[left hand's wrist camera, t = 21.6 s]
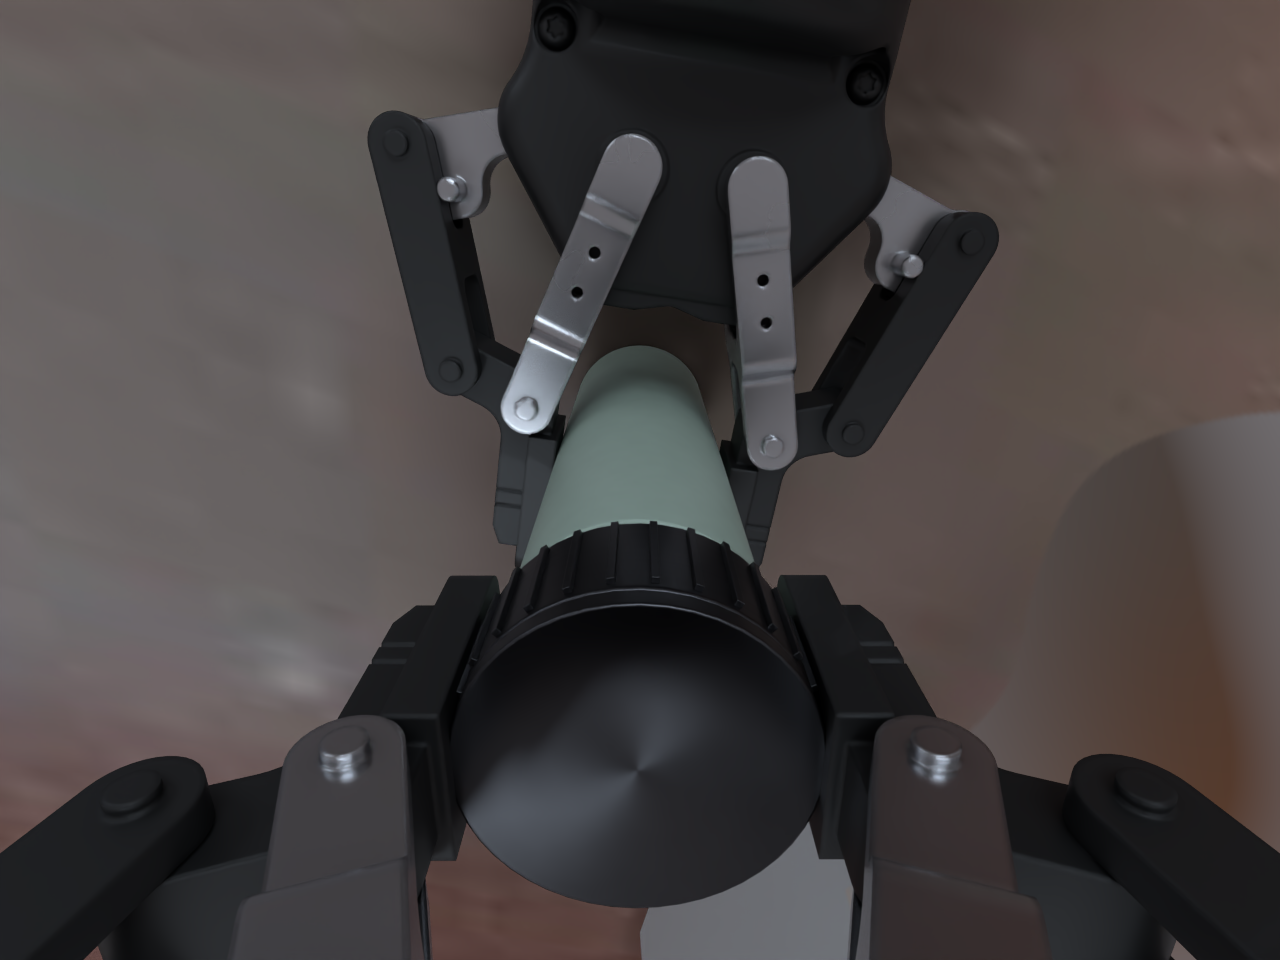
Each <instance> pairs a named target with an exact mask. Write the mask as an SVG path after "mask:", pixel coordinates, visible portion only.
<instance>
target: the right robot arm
mask: <svg viewBox="0 0 1280 960" xmlns="http://www.w3.org/2000/svg"><path fill="white" fill-rule="evenodd" d="M910 1H911V0H533V8H532V19H531V27H530V34H529V39H528V43H527V46H526V49H525V52H524V55H523V58H522V60H521V62H520V64H519V66H518V68H517V70H516V71H515V73H514V75H513V76H512V78H511V79H510V81H509V82H508V83H507V85H506V87H505V88H504V91H503V93H502V95H501V98H500V102H499V106H498V107H497V108H491V109H485V110H478V111H472V112H466V113H460V114H453V115H447V116H441V117H435V118H428V119H420V118H418V117H415V116H412V115H409V114H406V113H404V112H400V111H387V112H384V113H382V114H380V115H379V116H377V117H376V118H375V119H374V121H373V122H372V124H371V126H370V128H369V131H368V147H369V151H370V155H371V159H372V163H373V167H374V171H375V175H376V179H377V183H378V187H379V191H380V195H381V199H382V203H383V207H384V211H385V215H386V219H387V223H388V227H389V231H390V235H391V239H392V243H393V247H394V251H395V255H396V259H397V263H398V267H399V270H400V274H401V278H402V282H403V286H404V290H405V294H406V298H407V302H408V306H409V310H410V314H411V318H412V322H413V326H414V330H415V334H416V338H417V342H418V346H419V350H420V354H421V358H422V362H423V366H424V370H425V374H426V377H427V379H428V381H429V383H430V384H431V385H432V387H433V388H435V389H436V390H437V391H439V392H440V393H442V394H445V395H449V396H458V395H462V396H464V397H466V398H468V399H469V400H471V401H473V402H475V403H477V404H479V405H481V406H483V407H484V408H486V409H487V410H489V411H490V412H491V413H492V414H493V415H494V417H495V418H496V420H497V422H498V424H499V427H500V431H501V442H500V453H499V464H498V474H497V485H496V487H497V488H496V496H495V506H494V517H493V527H494V530H495V533H496V536H497V539H498V542H499V543H501V544H508V545H515V546H517V547H516V556H515V567H517V566H518V567H521V564H522V561H523V558H524V555H525V552H526V549H527V546H528V543H529V540H530V536H531V533H532V530H533V527H534V524H535V521H536V518H537V515H538V512H539V509H540V506H541V503H542V500H543V497H544V494H545V491H546V488H547V485H548V482H549V479H550V476H551V473H552V470H553V467H554V464H555V461H556V458H557V455H558V452H559V449H560V446H561V443H562V440H563V434H564V426H565V418H566V416H565V415H558V410H559V402H560V398H561V396H562V393H563V391H564V389H565V387H566V385H567V382H568V380H569V378H570V376H571V374H572V371H573V369H574V367H575V365H576V363H577V360H578V358H579V356H580V354H581V352H582V350H583V348H584V346H585V343H586V341H587V339H588V337H589V335H590V332H591V330H592V328H593V326H594V324H595V321H596V319H597V317H598V315H599V313H600V310H601V308H602V306H603V305H608V306H615V307H621V308H627V309H633V310H636V309H645V308H654V307H664V306H672V307H675V308H677V309H679V310H681V311H683V312H686V313H688V314H690V315H692V316H694V317H697V318H699V319H701V320H703V321H708V322H715V323H721V324H724V328H725V339H726V346H727V352H728V357H729V363H730V373H731V384H732V394H733V405H734V416H735V424H734V429H733V434H732V439H731V441H726V440H722V441H721V446H720V451H719V452H720V456H721V459H722V462H723V465H724V468H725V471H726V474H727V478H728V481H729V484H730V487H731V490H732V493H733V496H734V500H735V503H736V506H737V509H738V512H739V515H740V518H741V521H742V525H743V528H744V531H745V534H746V537H747V540H748V543H749V547H750V550H751V553H752V556H753V559H754V562H755V563H756V564H757V565H758V567H759V566H760V565H761V564H762V560H763V556H764V552H765V548H766V542H767V539H768V535H769V529H770V527H771V523H772V519H773V515H774V511H775V506H776V502H777V498H778V494H779V490H780V486H781V482H782V478H783V476H784V474H785V472H786V471H787V469H788V468H789V467H790V466H791V465H792V464H793V463H794V462H796V461H798V460H799V459H801V458H804V457H807V456H812V455H817V454H823V453H828V452H835V453H837V454H838V455H841V456H844V457H856V456H859V455H861V454H863V453H865V452H866V451H868V450H869V449H870V448H871V447H872V446H873V444H874V443H875V441H876V440H877V438H878V436H879V435H880V433H881V432H882V430H883V429H884V427H885V425H886V424H887V422H888V421H889V419H890V418H891V416H892V414H893V413H894V411H895V410H896V408H897V406H898V405H899V403H900V402H901V400H902V399H903V397H904V395H905V394H906V392H907V391H908V389H909V388H910V386H911V384H912V383H913V381H914V380H915V378H916V376H917V375H918V373H919V372H920V370H921V369H922V367H923V365H924V364H925V362H926V361H927V359H928V358H929V356H930V354H931V353H932V351H933V350H934V348H935V346H936V345H937V343H938V342H939V340H940V339H941V337H942V335H943V334H944V332H945V331H946V329H947V328H948V326H949V324H950V323H951V321H952V320H953V318H954V317H955V315H956V313H957V312H958V310H959V309H960V307H961V305H962V304H963V302H964V301H965V299H966V298H967V296H968V294H969V293H970V291H971V290H972V288H973V287H974V285H975V283H976V282H977V280H978V279H979V277H980V275H981V274H982V272H983V271H984V269H985V268H986V266H987V264H988V263H989V261H990V260H991V258H992V257H993V255H994V253H995V251H996V249H997V246H998V242H999V232H998V228H997V226H996V224H995V222H994V221H993V220H992V219H991V218H990V217H989V216H987V215H985V214H983V213H978V212H969V211H965V210H951V209H949V208H948V207H946V206H944V205H942V204H940V203H939V202H937V201H935V200H933V199H931V198H930V197H928V196H926V195H924V194H923V193H921V192H919V191H917V190H915V189H914V188H912V187H910V186H908V185H906V184H905V183H903V182H901V181H899V180H898V179H896V178H894V177H892V176H891V170H892V159H891V152H890V148H889V144H888V140H887V136H886V129H885V102H886V96H887V91H888V87H889V84H890V80H891V76H892V73H893V69H894V66H895V62H896V58H897V54H898V50H899V46H900V42H901V38H902V34H903V30H904V26H905V22H906V17H907V13H908V9H909V5H910ZM507 157H508V158H509V160H510V161H511V163H512V165H513V167H514V169H515V171H516V173H517V175H518V177H519V179H520V180H521V182H522V184H523V186H524V188H525V190H526V192H527V194H528V196H529V198H530V199H531V201H532V203H533V205H534V207H535V209H536V211H537V213H538V215H539V216H540V218H541V220H542V222H543V224H544V226H545V228H546V230H547V232H548V234H549V235H550V237H551V239H552V241H553V243H554V245H555V247H556V249H557V251H558V253H559V254H560V256H561V258H560V261H559V263H558V265H557V268H556V270H555V272H554V275H553V277H552V279H551V282H550V284H549V286H548V289H547V291H546V294H545V296H544V298H543V301H542V303H541V305H540V308H539V310H538V312H537V315H536V317H535V320H534V322H533V325H532V328H531V332H530V335H529V337H528V340H527V342H526V344H525V347H524V349H523V351H522V354H521V355H520V354H518V353H517V352H515V351H513V350H511V349H509V348H507V347H505V346H503V345H502V344H500V343H498V342H496V341H495V337H494V332H493V328H492V323H491V318H490V314H489V309H488V304H487V300H486V295H485V290H484V286H483V281H482V276H481V271H480V267H479V262H478V257H477V253H476V248H475V243H474V239H473V234H472V229H471V225H470V220H469V218H471V217H475V216H477V215H479V214H480V213H482V212H483V211H484V210H485V208H486V207H487V205H488V203H489V200H490V195H491V188H490V180H491V175H492V172H493V170H494V168H495V167H496V165H497V164H498V163H499V162H500V161H502V160H503V159H505V158H507ZM863 220H865V222H866V223H867V225H868V227H869V231H870V244H869V248H868V250H867V253H866V255H865V259H864V269H865V272H866V275H867V277H868V278H869V279H870V280H871V281H872V282H873V283H874V285H873V287H872V288H871V290H870V292H869V293H868V295H867V297H866V299H865V300H864V302H863V304H862V305H861V307H860V309H859V311H858V312H857V314H856V316H855V317H854V319H853V321H852V323H851V324H850V326H849V328H848V329H847V331H846V333H845V334H844V336H843V338H842V340H841V341H840V343H839V345H838V346H837V348H836V350H835V352H834V353H833V355H832V357H831V358H830V360H829V362H828V364H827V365H826V367H825V369H824V370H823V372H822V374H821V376H820V377H819V379H818V381H817V382H816V384H815V386H814V387H813V389H812V391H809V392H804V393H799V394H795V391H794V372H795V371H796V362H797V359H796V341H795V324H794V308H793V292H792V288H793V287H795V286H796V285H797V284H798V283H799V282H800V281H801V280H802V279H803V278H804V277H805V276H806V275H807V274H808V273H809V272H810V271H811V270H812V269H813V268H814V267H815V266H816V265H817V264H818V263H820V262H821V261H822V260H823V259H824V258H825V257H826V256H827V255H828V254H829V253H830V252H831V251H832V250H833V249H834V248H835V247H836V246H837V245H838V244H839V243H840V242H841V241H842V240H844V239H845V238H846V237H847V236H848V235H849V234H850V233H851V232H852V231H853V230H854V229H855V228H856V227H857V226H858V225H859V224H860V223H861V222H862V221H863Z"/></svg>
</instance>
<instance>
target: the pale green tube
mask: <svg viewBox="0 0 1280 960" xmlns="http://www.w3.org/2000/svg"><path fill="white" fill-rule="evenodd" d="M616 521H618V522H619V524H636V523H643V524H649V523H650V521H657V524H658V525H665V526H670V527H675V528H680V529H684V530H687V528H688V527H690V528H693V529H695V532H696V533H697V534H700V535H703V536H705V537H707V538H709V539H711V540H714V541H716V542H718V543H720V544H721V543H722V542H723V541H724V542H726V543H728V544H729V545H730V549H731V551H733V552H735V553H736V554H738V555H739V556H741V557H742V558H743V559H744V560H745V561H746V562H748V563H749V564H751V563H752V562H754V559H753V556H752V553H751V550H750V547H749V543H748V540H747V537H746V534H745V531H744V528H743V525H742V521H741V518H740V515H739V512H738V509H737V506H736V503H735V500H734V496H733V493H732V490H731V487H730V484H729V481H728V478H727V474H726V471H725V468H724V465H723V462H722V459H721V456H720V452H719V449H718V446H717V443H716V440H715V437H714V434H713V430H712V427H711V424H710V421H709V418H708V415H707V412H706V408H705V405H704V402H703V399H702V396H701V393H700V390H699V387H698V384H697V382H696V380H695V377H694V376H693V374H692V373H691V371H690V370H689V369H688V368H687V366H686V365H685V364H684V363H683V362H682V361H680V360H679V359H678V358H677V357H675V356H674V355H672V354H670V353H668V352H666V351H664V350H661V349H659V348H655V347H650V346H641V345H638V346H628V347H623V348H620V349H617V350H614V351H612V352H610V353H608V354H606V355H605V356H603V357H602V358H600V359H599V360H598V361H597V362H596V363H595V364H594V365H593V366H592V367H591V368H590V369H589V371H588V372H587V374H586V375H585V377H584V379H583V381H582V383H581V385H580V388H579V391H578V394H577V397H576V400H575V403H574V406H573V409H572V412H571V415H570V418H569V421H568V425H567V428H566V431H565V434H564V437H563V440H562V443H561V446H560V449H559V452H558V455H557V458H556V461H555V464H554V467H553V470H552V473H551V476H550V479H549V482H548V485H547V488H546V491H545V494H544V497H543V500H542V503H541V506H540V509H539V512H538V515H537V518H536V521H535V524H534V527H533V530H532V533H531V536H530V540H529V543H528V546H527V549H526V552H525V555H524V558H523V561H522V564H521V567H520V568H522V567H523V566H524V565H525V564H527V563H528V562H529V561H530V560H532V559H533V558H534V557H535V556H537V555H538V554H539V551H540V548H541V547H543V546H545V545H547V546H548V547H551V546H552V545H554V544H556V543H557V542H560V541H562V540H564V539H566V538H569V537H571V536H573V532H574V531H577V530H580V529H581V531H582V532H585V531H589V530H592V529H595V528H600V527H606V526H611V522H616ZM754 563H755V562H754Z"/></svg>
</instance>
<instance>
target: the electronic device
mask: <svg viewBox="0 0 1280 960" xmlns="http://www.w3.org/2000/svg"><path fill="white" fill-rule="evenodd" d="M852 893H853V886H852V884H851V880H850V877H849V874H848V871H847V867H846V864H845V861H844V859H819V857H818V854H817V850H816V846H815V843H814V839H813V835H812V831H811V828H810V824H809V822H808V823H807V825H806V827H805V828H804V830H803V831H802V832H801V834H800V835H799V836H798V838H797V839H796V840H795V842H794V843H793V844H792V845H791V846H790V847H789V848H788V849H787V850H786V851H785V852H784V853H783V854H782V855H781V856H780V857H779V858H778V859H777V860H776V861H774V862H773V863H772V864H770V865H769V866H768V867H767V868H765V869H764V870H763V871H761V872H760V873H758V874H757V875H755V876H753V877H752V878H750V879H748V880H747V881H745V882H743V883H741V884H739V885H737V886H735V887H733V888H731V889H728V890H726V891H724V892H722V893H719V894H716V895H713V896H710V897H707V898H704V899H701V900H697V901H692V902H688V903H684V904H679V905H672V906H664V907H654V908H648V911H647V914H646V917H645V920H644V923H643V925H642V928H641V931H640V940H641V955H642V960H847V954H848V940H849V926H850V911H851V900H852Z"/></svg>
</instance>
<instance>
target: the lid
mask: <svg viewBox="0 0 1280 960" xmlns="http://www.w3.org/2000/svg"><path fill="white" fill-rule="evenodd" d="M818 691H819V688H818V685H817V682H816V680H815V677H814V674H813V672H812V669H811V666H810V664H809V661H808V658H807V655H806V653H805V650H804V647H803V645H802V642H801V639H800V636H799V634H798V631H797V628H796V626H795V623H794V620H793V617H792V616H790V617H789V616H788V613H787V610H786V608H785V605H784V602H783V599H782V597H781V594H780V591H779V590H778V588H777V587H775V588H774V589H771V587H770V586H769V584H768V583H767V582H766V581H765V579H764V578H763V577H762V576H761V573H760V570H759V567H758V565H757V564H756V563H754V562H752V563H751V564H749V563H748V562H746V561H745V560H744V559H743V558H742V557H741V556H739V555H738V554H736V553H735V552H733V551H731V549H730V545H729V544H728V543H726V542H724V541H723V542H722V543H721V544H720V543H718V542H716V541H714V540H711V539H709V538H707V537H705V536H703V535H700V534H697V533H696V532H695V529H693V528H690V527H688V528H687V530H684V529H680V528H675V527H670V526H665V525H658V524H657V521H650V523H649V524H643V523H636V524H619V522H618V521H616V522H611V526H606V527H600V528H595V529H592V530H589V531H585V532H582V531H581V529H580V530H577V531H574V532H573V536H571V537H569V538H566V539H564V540H562V541H560V542H557V543H556V544H554V545H552V546H551V547H548V546H547V545H545V546H543V547H541V548H540V551H539V554H538V555H537V556H535V557H534V558H533V559H532V560H530V561H529V562H528V563H527V564H525V565H524V566H523V567H522V568H519V567H518V566H517V567H516V568H515V569H514V570H513V572H512V575H511V577H510V580H509V583H508V584H507V586H506V587H505V589H504V590H503V591H502V593H501V594H498V593H495V594H494V596H493V598H492V600H491V603H490V606H489V608H488V611H487V614H486V616H485V619H484V621H483V622H482V625H481V628H480V630H479V633H478V636H477V638H476V641H475V644H474V646H473V649H472V652H471V654H470V657H469V660H468V662H467V665H466V668H465V670H464V673H463V675H462V678H461V681H460V683H459V686H458V689H457V698H458V699H459V701H458V704H457V707H456V710H455V713H454V716H453V719H452V722H451V725H450V734H449V739H450V750H451V759H452V768H453V777H454V786H455V794H456V801H457V804H458V806H459V808H460V810H461V812H462V814H463V816H464V818H465V820H466V822H467V824H468V825H469V826H470V828H471V829H472V831H473V832H474V833H475V835H476V836H477V837H478V839H479V840H480V841H481V842H482V843H483V844H484V845H485V847H486V848H487V849H488V850H489V851H490V852H491V853H492V854H493V855H494V856H495V857H496V858H498V859H499V860H500V861H501V862H503V863H504V864H505V865H506V866H507V867H509V868H510V869H511V870H513V871H514V872H516V873H518V874H519V875H521V876H522V877H524V878H525V879H527V880H529V881H531V882H533V883H535V884H537V885H539V886H541V887H543V888H545V889H547V890H549V891H552V892H554V893H557V894H560V895H563V896H565V897H568V898H572V899H575V900H579V901H583V902H587V903H591V904H598V905H604V906H610V907H624V908H654V907H664V906H672V905H679V904H684V903H688V902H692V901H697V900H701V899H704V898H707V897H710V896H713V895H716V894H719V893H722V892H724V891H726V890H728V889H731V888H733V887H735V886H737V885H739V884H741V883H743V882H745V881H747V880H748V879H750V878H752V877H753V876H755V875H757V874H758V873H760V872H761V871H763V870H764V869H765V868H767V867H768V866H769V865H770V864H772V863H773V862H774V861H776V860H777V859H778V858H779V857H780V856H781V855H782V854H783V853H784V852H785V851H786V850H787V849H788V848H789V847H790V846H791V845H792V844H793V843H794V842H795V840H796V839H797V838H798V836H799V835H800V834H801V832H802V831H803V830H804V828H805V827H806V825H807V823H808V822H809V820H810V818H811V816H812V815H813V813H814V811H815V809H816V806H817V804H818V801H819V797H820V790H821V782H822V773H823V763H824V754H825V743H826V732H825V728H824V724H823V721H822V717H821V714H820V710H819V707H818V705H817V702H816V699H815V696H814V694H813V693H815V692H818Z"/></svg>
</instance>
